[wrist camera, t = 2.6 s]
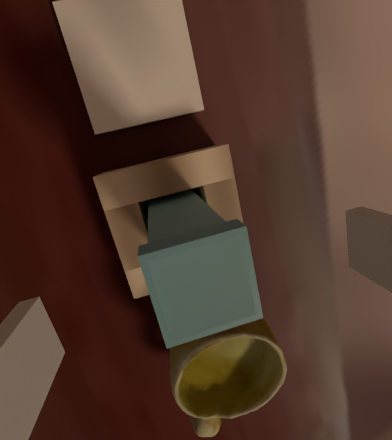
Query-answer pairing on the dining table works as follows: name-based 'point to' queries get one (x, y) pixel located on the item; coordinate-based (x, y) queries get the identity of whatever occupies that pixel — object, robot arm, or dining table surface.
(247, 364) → the mug
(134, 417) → the dining table surface
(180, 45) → the tile
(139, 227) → the socket block
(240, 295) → the plug
